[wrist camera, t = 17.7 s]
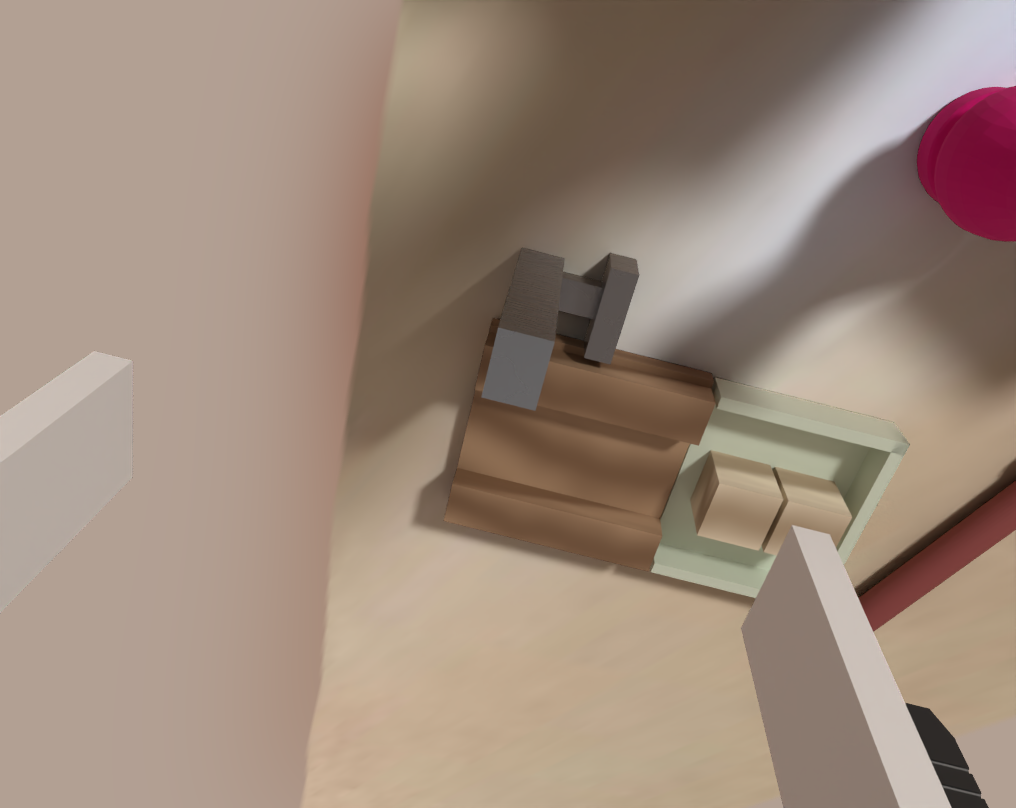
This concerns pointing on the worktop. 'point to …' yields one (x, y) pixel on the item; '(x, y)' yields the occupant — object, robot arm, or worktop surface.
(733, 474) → the beige cube
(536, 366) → the t-shaped gray bracket
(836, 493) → the light wooden cube
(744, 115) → the worktop surface
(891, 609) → the rolling pin
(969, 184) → the pepper mill
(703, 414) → the groove board
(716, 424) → the tray
